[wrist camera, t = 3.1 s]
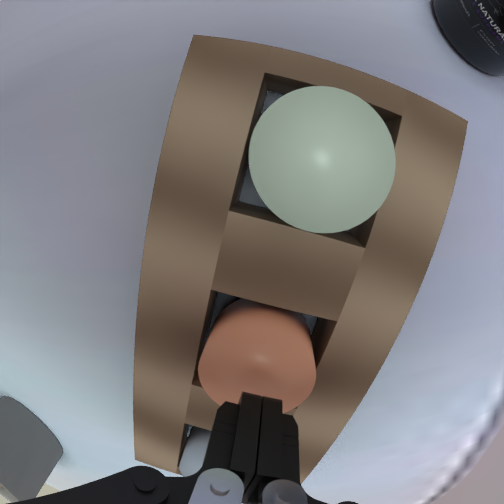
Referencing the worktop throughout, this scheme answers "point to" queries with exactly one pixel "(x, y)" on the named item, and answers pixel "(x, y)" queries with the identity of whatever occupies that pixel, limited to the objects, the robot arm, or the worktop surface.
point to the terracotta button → (258, 355)
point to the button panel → (277, 244)
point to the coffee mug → (24, 451)
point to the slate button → (194, 451)
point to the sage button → (322, 159)
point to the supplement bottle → (475, 31)
